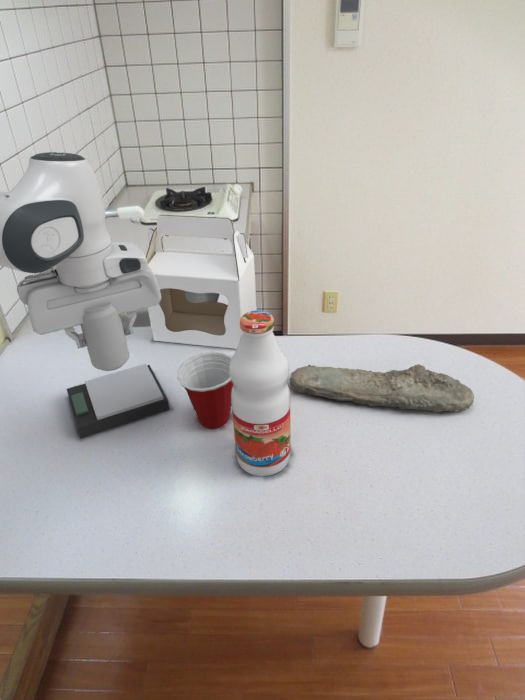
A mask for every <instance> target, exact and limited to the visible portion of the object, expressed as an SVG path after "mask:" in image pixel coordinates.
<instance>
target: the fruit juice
mask: <svg viewBox="0 0 525 700" xmlns="http://www.w3.org/2000/svg"><path fill="white" fill-rule="evenodd" d="M256 310H257V311H250V312H247V313H245V314H244V315H242V317H241V318H240V329H241V331H242V335H241V338H240V341H239V344H238V347H237V349H235V352H234V354H233V355H232V359H231V361H230V366H229V373H230V377H231V380H232V382H233V387H232V391H231V416H232V427H233V437H234V448H235V449H234V450H235V457H236V459H237V460H236V461H237V463H238V465H239V467H240V468H241V470H243V471H244V472H245V473H248V474H249V475H253V476H255V477H256V476H257V477H268V476H273V475H276V474H278V473H280V472H282V471H283V470H284V469H285V468H286V467H287V466H288V464H289V462H290V459H291V453H292V449H291V447H292V445H291V444H292V443H291V442H292V441H291V439H292V438H291V437H292V435H291V432H292V431H291V393H290V387H289V384H288V379H289V374H290V363H289V360H288V358H287V356H286V354H285V353H284V351H282V349H281V347H280V345H279V343H278V340H277V338H276V336H275V333H274V329H275V319H274V318H275V317H274V315H273V314H272V313H270V312H268V311H266V310H258V309H256Z"/></svg>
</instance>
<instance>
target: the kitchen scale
mask: <svg viewBox="0 0 525 700" xmlns="http://www.w3.org/2000/svg"><path fill="white" fill-rule="evenodd" d="M66 392H67V396H68V400H69V404H70V407H71V411H72V415H73V417H74V418H73V419H74V422H75V425H76V429H77V432H78V435H79V438H80V439H84V438H87V437H90V436H92V435H96V434H99V433H101V432H104V431H107V430H112V429H114V428H118V427H120V426H123V425H127V424H129V423H132V422H135V421H139V420H142V419H145V418H148V417H151V416H154V415H157V414H160V413H163V412H166V411H169V410H170V404H169V400H168V397H167V395H166V394H165V391H164V389H163V387H162V386H161V384H160V382H159V381H158V379H157V376H156V374H155V372H154V371H153V369H152V367H151V365H150V364H147V363H143V364H140V365H137V366H133V367H130V368H127V369H123V370H120V371H116V372H114V373H113V372H112V373H109V374H106V375H103V376H99V377H95V378H92V379H87V380H86V381H84V383H81V384H78V385H73V386H71V387H68V388H66Z"/></svg>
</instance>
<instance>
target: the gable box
mask: <svg viewBox="0 0 525 700" xmlns="http://www.w3.org/2000/svg"><path fill="white" fill-rule="evenodd" d="M147 236H148V247H147V251H146V254H145V256H146V259H147V264H148V266H149V267H150V269H151V270H152V272H153V273H154V275H155V277H156V280H157V282H158V285H159V289H160V293H161V301H160V302H159V304H158V305H156V306H152V307H148V308H147V313H148V317H149V324H150V328H151V329H150V330H151V334H152V338H153V341H154V342H163V343H171V344H173V343H174V344H183V345H191V346H192V345H193V346H204V347H213V348H214V347H215V348H222V349H223V348H224V349H233V350H234V349H235V350H237V347H238V344H239V341H240V338H241V335H242V331H241V329H240V318H241V317H242V315H244V314H245V313H247V312H250V311H257V310H258V309H257V295H256V294H257V293H256V292H257V291H256V269H255V254H254V253H253V251H252V250H251V248H250V247H249V245H248V244H247V242H246V235H245V232H244V233H243V232H240V231H238V230H235V228H234V220H232V219H230V218H229V217H220V216H218V217H216V216H199V215H176V214H175V215H174V214H173V215H172V214H160V215H158V216H157V218H156V227H155V228H151V227H150V228H147ZM164 237H180V238H197V239H215V240H225V241H226V240H228V241H229V242H230V243H231V246H232V247H231V248H232V251H220V250H219V251H216V250H202V249H187V248H186V249H184V248H169V247H164V241H163V238H164ZM186 292H187V293H188V292H189V293H194V294H218V295H221V296H224V297H225V298H226V299H227V301H228V304H227V303H223V302H219V301H214V300H213V301H211V300H208V301H201V302H192V301H189V300H188V299H187V297H186Z"/></svg>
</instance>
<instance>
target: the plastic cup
mask: <svg viewBox="0 0 525 700" xmlns="http://www.w3.org/2000/svg"><path fill="white" fill-rule="evenodd" d="M232 357H233V355H230V354H227V353H225V352H223V351H221V352H219V351H208V352H202V353H197V354H195V355H193V356H191V357H189V358H188V359H186V360H185V361H184V362H182V363H181V365H180V366H179V368H178V369H177V373H176V379H177V381H178V382H179V384H180V385H181V386H182V387H183V388H184V389H185V391H186V393H187V396H188V398H189V401H190V403H191V407H192V408H193V410H194V412H195V415H196V418H197V420H198V422H199V424H200V425H201V426H202V427H204V428H205V429H210V430H214V429H216V430H217V429H220V428H222V427H224V426H225V425H227V424H228V423H229V420H230V417H231V411H232V406H231V391H232V387H233V382H232V380H231V377H230V373H229V366H230V361H231V359H232Z"/></svg>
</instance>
